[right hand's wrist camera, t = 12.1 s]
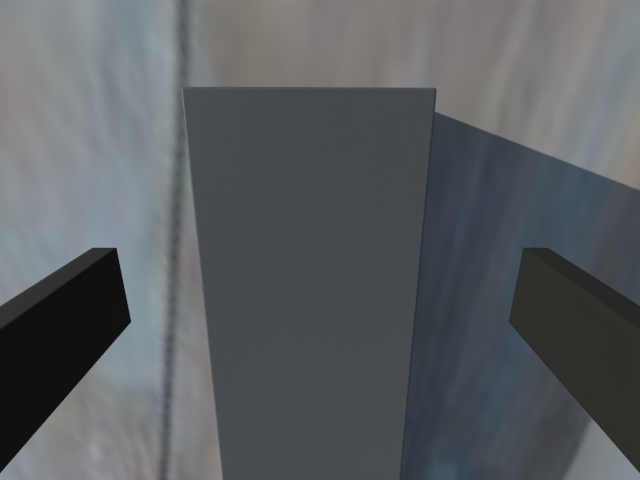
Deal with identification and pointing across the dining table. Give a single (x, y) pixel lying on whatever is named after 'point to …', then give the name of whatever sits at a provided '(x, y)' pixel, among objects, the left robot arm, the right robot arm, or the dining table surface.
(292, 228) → the wide beam
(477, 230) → the dining table surface
